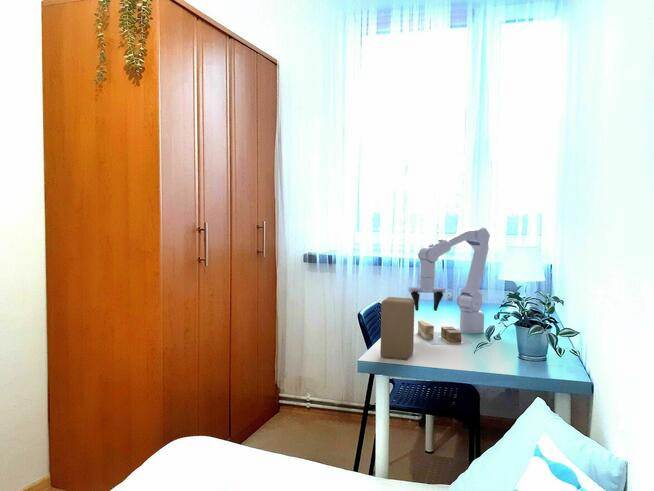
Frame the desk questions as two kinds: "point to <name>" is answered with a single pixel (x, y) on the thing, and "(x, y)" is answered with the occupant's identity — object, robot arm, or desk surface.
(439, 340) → the board
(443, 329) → the brown wooden cube
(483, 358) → the desk surface
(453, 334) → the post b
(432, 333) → the tan rectangular block
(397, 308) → the wooden block
